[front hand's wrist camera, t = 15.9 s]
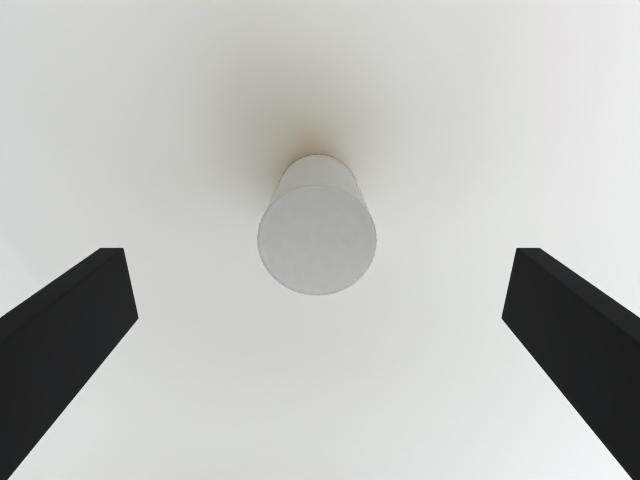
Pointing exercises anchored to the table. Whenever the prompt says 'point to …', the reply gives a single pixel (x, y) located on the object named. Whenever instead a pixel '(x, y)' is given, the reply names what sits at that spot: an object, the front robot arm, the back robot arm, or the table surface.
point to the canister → (317, 228)
